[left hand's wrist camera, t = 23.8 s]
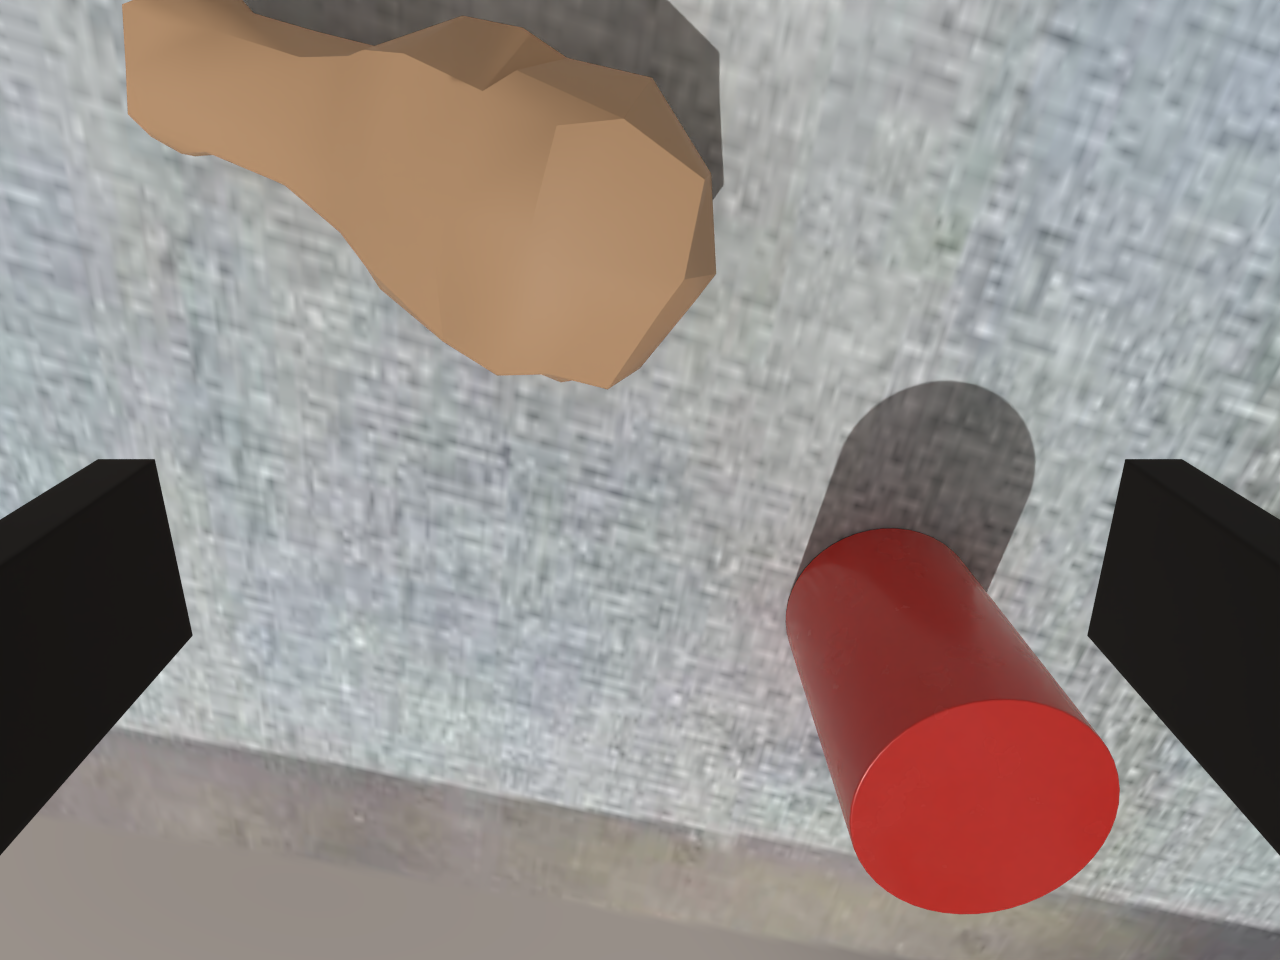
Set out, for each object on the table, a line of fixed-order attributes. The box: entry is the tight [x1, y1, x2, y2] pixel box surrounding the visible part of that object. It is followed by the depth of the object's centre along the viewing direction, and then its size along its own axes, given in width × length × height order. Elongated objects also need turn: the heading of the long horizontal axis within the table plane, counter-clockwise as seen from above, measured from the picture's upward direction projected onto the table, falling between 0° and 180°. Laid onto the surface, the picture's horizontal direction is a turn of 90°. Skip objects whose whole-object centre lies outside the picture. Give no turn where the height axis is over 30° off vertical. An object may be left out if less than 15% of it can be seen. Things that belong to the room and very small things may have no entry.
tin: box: [786, 528, 1120, 914], centre depth 34 cm, size 8×8×12 cm
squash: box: [122, 0, 716, 389], centre depth 29 cm, size 11×20×9 cm, turn 72°
